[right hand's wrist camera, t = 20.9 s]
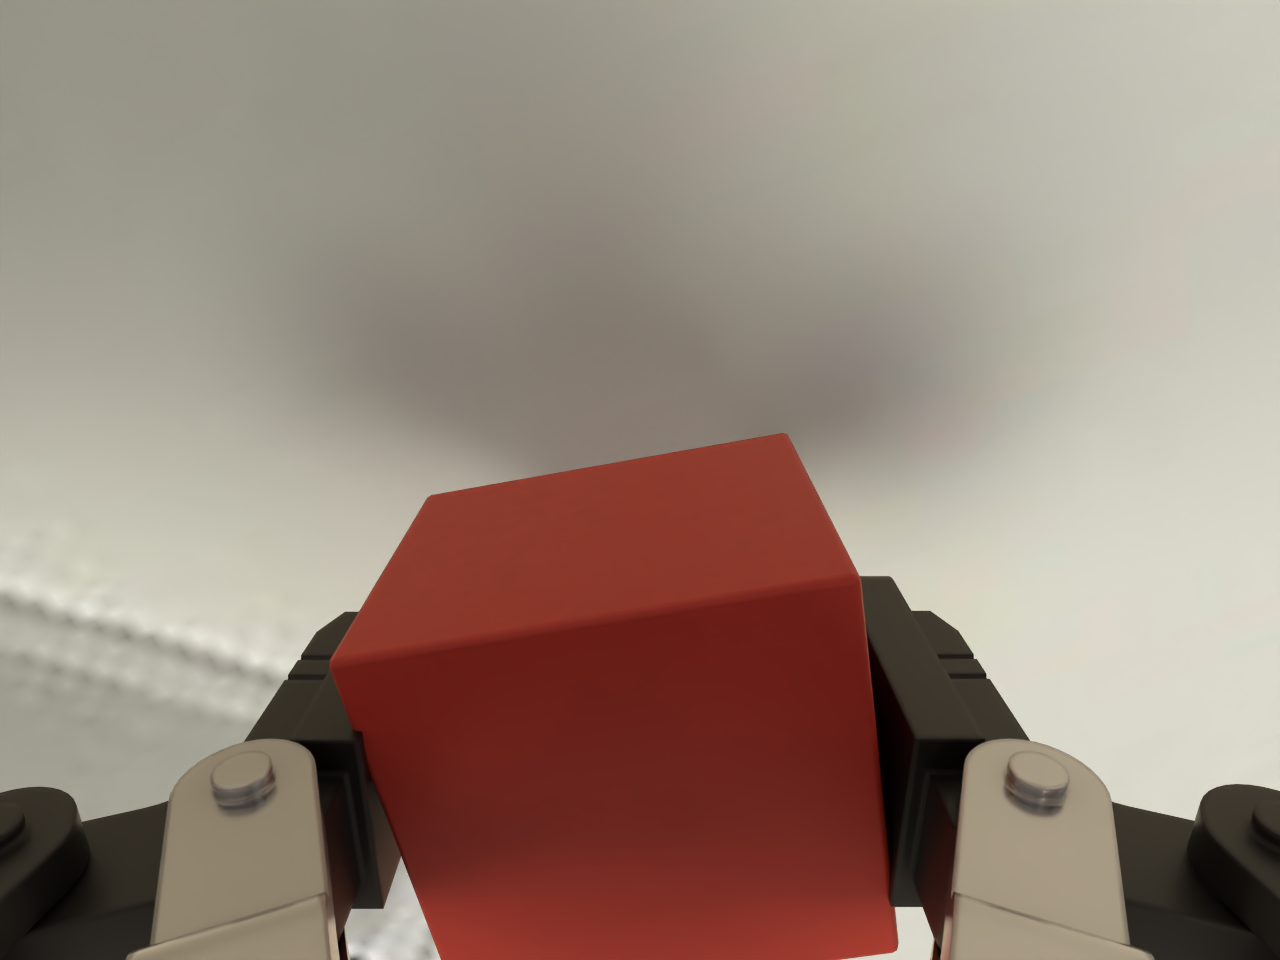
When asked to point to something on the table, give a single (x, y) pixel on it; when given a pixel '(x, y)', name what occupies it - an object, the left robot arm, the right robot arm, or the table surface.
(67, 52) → the table surface
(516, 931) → the brick
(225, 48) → the table surface
